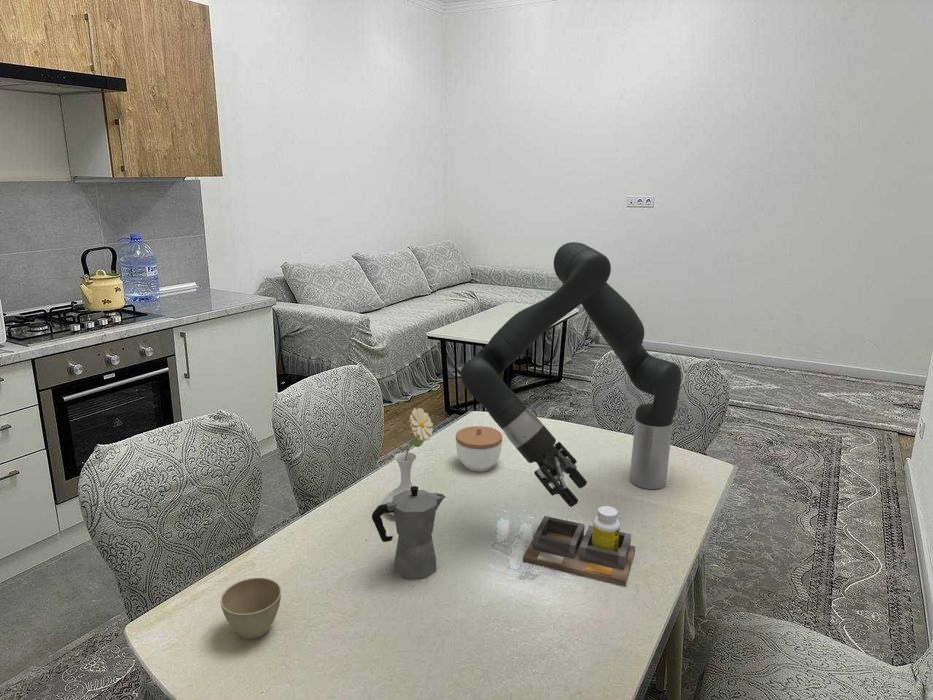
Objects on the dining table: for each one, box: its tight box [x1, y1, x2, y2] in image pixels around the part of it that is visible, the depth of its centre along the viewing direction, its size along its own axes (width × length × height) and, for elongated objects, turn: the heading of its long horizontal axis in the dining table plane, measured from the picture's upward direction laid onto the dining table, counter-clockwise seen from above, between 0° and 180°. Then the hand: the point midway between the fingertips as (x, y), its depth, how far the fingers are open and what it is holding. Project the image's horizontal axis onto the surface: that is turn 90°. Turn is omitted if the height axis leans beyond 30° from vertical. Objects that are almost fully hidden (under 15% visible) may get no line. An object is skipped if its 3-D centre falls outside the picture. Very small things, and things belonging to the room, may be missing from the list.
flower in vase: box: [381, 407, 434, 517], centre depth 151 cm, size 13×11×25 cm
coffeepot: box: [371, 485, 446, 580], centre depth 130 cm, size 15×9×18 cm, turn 116°
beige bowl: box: [220, 577, 282, 640], centre depth 113 cm, size 10×10×7 cm
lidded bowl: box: [455, 425, 503, 472], centre depth 176 cm, size 13×13×11 cm
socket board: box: [522, 515, 636, 587], centre depth 136 cm, size 13×21×4 cm, turn 68°
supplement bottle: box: [592, 505, 621, 552], centre depth 135 cm, size 5×5×10 cm
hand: (579, 494), depth 134 cm, fingers open, 8 cm apart
